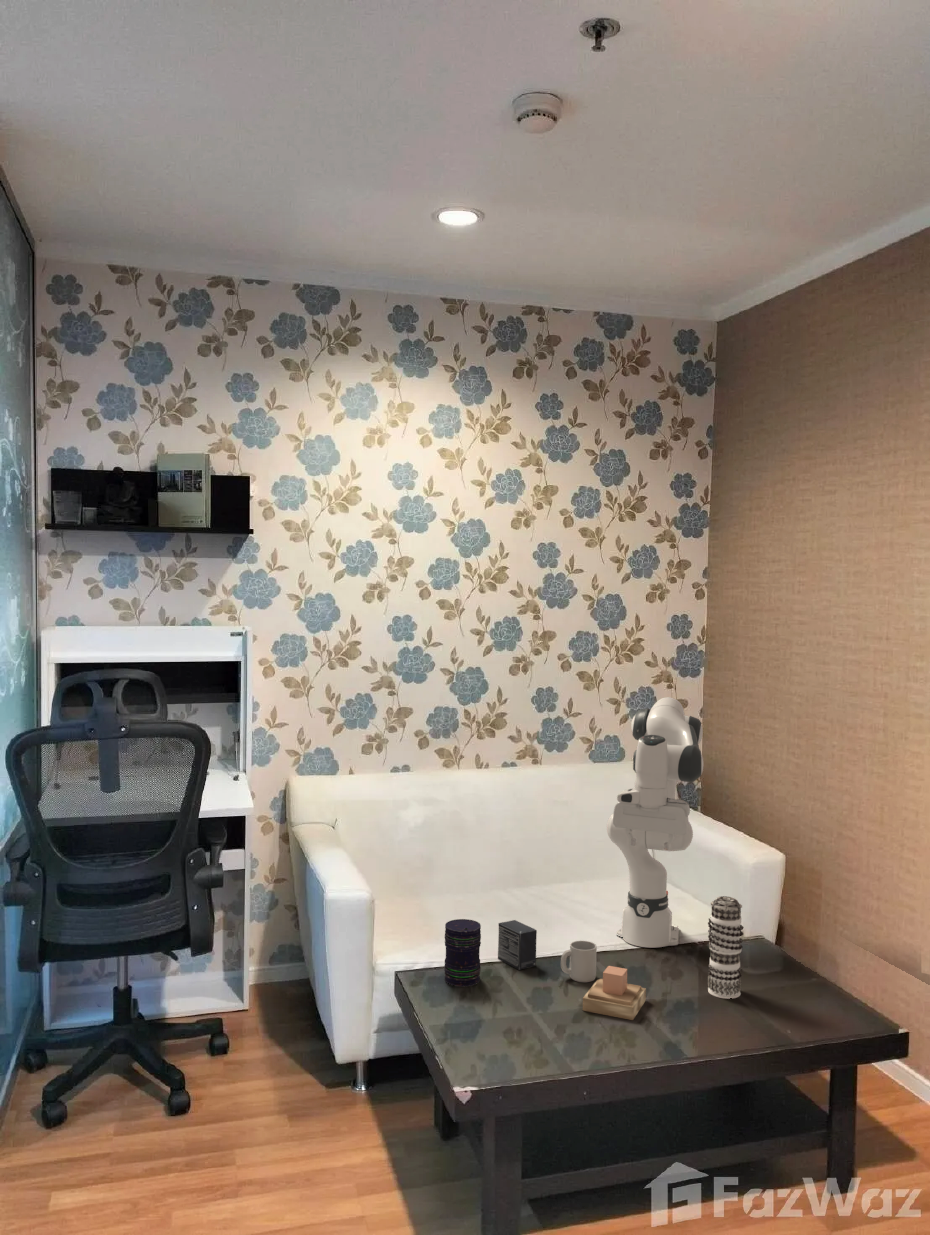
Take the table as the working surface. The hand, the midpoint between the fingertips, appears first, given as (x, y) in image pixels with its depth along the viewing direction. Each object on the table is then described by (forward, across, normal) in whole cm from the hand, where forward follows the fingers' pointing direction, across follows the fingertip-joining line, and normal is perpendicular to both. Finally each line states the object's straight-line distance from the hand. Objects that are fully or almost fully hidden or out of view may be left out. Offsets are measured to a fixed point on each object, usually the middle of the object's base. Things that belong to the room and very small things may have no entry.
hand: (649, 847), depth 271 cm
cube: (+33, +4, +18) cm, 38 cm away
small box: (+37, +37, +2) cm, 53 cm away
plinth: (+37, +4, +18) cm, 41 cm away
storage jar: (+37, +46, +20) cm, 63 cm away
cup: (+37, +18, +5) cm, 42 cm away
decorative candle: (+37, -20, -3) cm, 42 cm away
